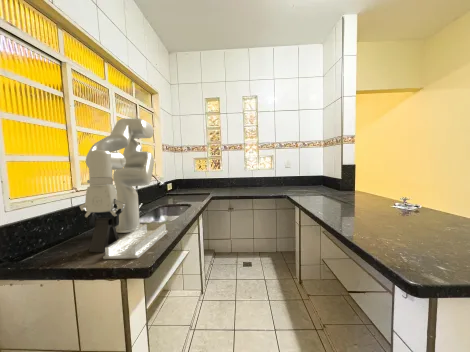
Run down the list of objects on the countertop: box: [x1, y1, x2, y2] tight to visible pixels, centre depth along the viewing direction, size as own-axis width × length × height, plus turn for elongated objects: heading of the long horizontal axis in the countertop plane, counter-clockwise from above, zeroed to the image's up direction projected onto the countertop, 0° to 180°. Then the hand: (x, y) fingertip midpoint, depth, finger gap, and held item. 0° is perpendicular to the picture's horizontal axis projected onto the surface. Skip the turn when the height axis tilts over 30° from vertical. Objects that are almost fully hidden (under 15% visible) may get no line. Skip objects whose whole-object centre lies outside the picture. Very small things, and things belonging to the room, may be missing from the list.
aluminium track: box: [103, 223, 169, 260], centre depth 83 cm, size 12×28×4 cm, turn 178°
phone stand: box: [89, 217, 120, 254], centre depth 79 cm, size 9×6×12 cm, turn 170°
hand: (103, 226), depth 78 cm, fingers open, 9 cm apart
